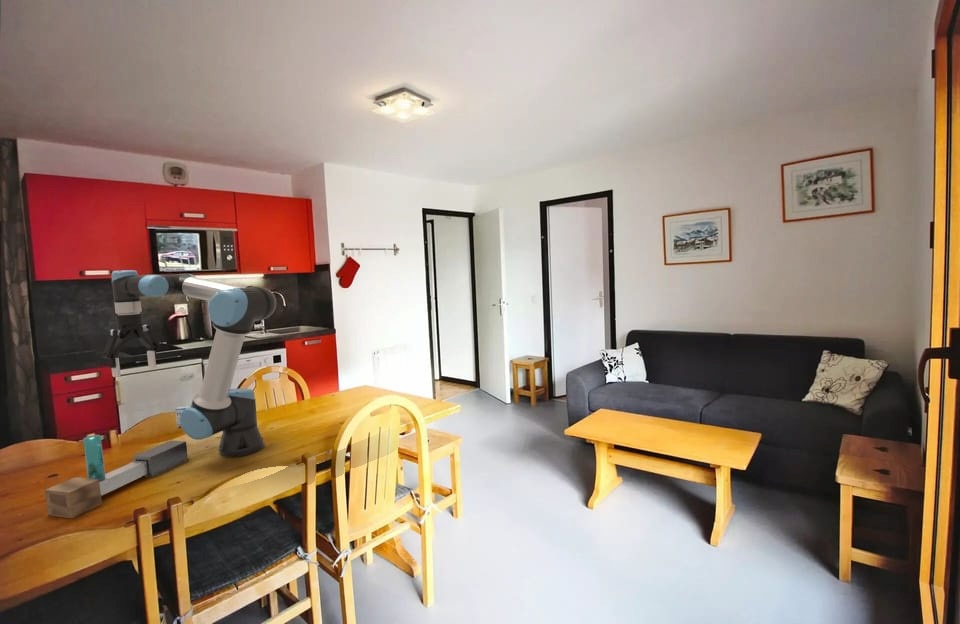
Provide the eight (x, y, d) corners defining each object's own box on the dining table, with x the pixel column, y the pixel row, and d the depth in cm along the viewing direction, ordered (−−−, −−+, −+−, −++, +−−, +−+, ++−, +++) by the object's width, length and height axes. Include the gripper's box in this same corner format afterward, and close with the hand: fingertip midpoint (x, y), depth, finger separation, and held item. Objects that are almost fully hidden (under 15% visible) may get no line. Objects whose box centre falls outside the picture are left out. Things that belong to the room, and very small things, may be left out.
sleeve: (172, 459, 169) (170, 440, 168) (187, 460, 167) (186, 441, 167) (135, 476, 156) (133, 456, 155) (152, 477, 154) (149, 457, 153)
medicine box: (176, 428, 203) (174, 408, 202) (181, 424, 208) (179, 405, 207) (196, 426, 205) (194, 407, 204) (200, 423, 209) (198, 404, 208)
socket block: (78, 501, 139) (75, 477, 139) (101, 504, 137) (98, 479, 137) (48, 515, 132) (44, 489, 131) (72, 518, 130) (69, 492, 129)
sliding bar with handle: (142, 470, 157) (137, 419, 155) (153, 471, 156) (147, 419, 154) (67, 505, 134) (59, 445, 133) (79, 506, 133) (71, 446, 132)
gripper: (152, 310, 180) (158, 364, 182) (83, 317, 156) (91, 380, 158) (168, 310, 178) (173, 365, 180) (101, 317, 154) (108, 380, 156)
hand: (135, 372), depth 169 cm, fingers open, 13 cm apart
